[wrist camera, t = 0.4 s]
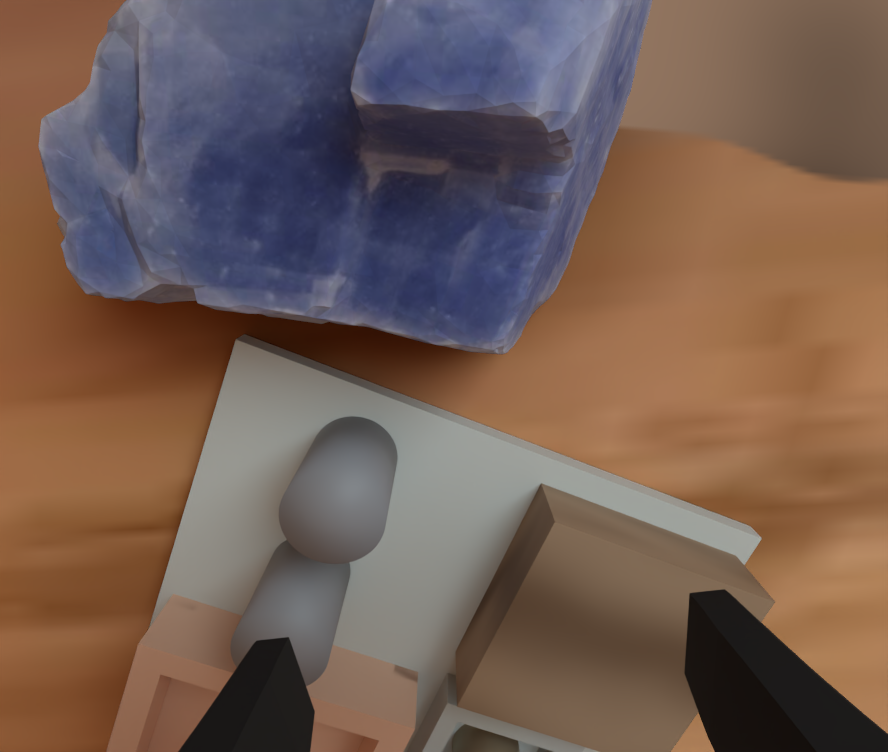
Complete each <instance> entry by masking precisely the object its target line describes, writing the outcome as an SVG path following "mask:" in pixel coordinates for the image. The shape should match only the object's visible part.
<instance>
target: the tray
mask: <svg viewBox="0 0 888 752" xmlns="http://www.w3.org/2000/svg"><path fill="white" fill-rule="evenodd" d="M241 618H242V615H239V614H235V613H232V612H229V611H226V610H223V609H220V608H217V607H214V606H210V605H207V604H204V603H201V602H198V601H195V600H192V599H189V598H185V597H182V596H179V595H176V594H173V595H172V596H171V598H170V599H169V601H168V602H167V604H166V605H165V606H164V608H163V609H162V611H161V612H160V613H159V615H158V616H157V618H156V619H155V621H154V622H153V623H152V625H151V626H150V628H149V629H148V631H147V632H146V633H145V635H144V636H143V638H142V639H141V641H140V642H139V643H138V646H137V650H136V653H135V656H134V660H133V663H132V666H131V670H130V673H129V676H128V680H127V683H126V687H125V690H124V693H123V697H122V700H121V703H120V707H119V710H118V714H117V717H116V720H115V724H114V727H113V730H112V734H111V737H110V740H109V744H108V747H107V751H106V752H178V751H179V750H180V748H181V747H182V745H183V744H184V743H185V741H186V740H187V739H188V737H189V736H190V734H191V733H192V732H193V730H194V729H195V727H196V726H197V725H198V723H199V722H200V720H201V719H202V718H203V716H204V715H205V713H206V712H207V710H208V709H209V707H210V706H211V705H212V703H213V702H214V700H215V699H216V697H217V696H218V695H219V693H220V692H221V690H222V689H223V687H224V686H225V684H226V683H227V681H228V680H229V678H230V677H231V676H232V674H233V673H234V671H235V670H236V668H237V667H236V665H235V664H234V662H233V659H232V656H231V650H230V645H231V640H232V636H233V634H234V632H235V630H236V628H237V626H238V624H239V622H240V620H241ZM417 684H418V672H416V671H413V670H410V669H407V668H404V667H401V666H398V665H395V664H392V663H388V662H385V661H382V660H379V659H376V658H373V657H370V656H367V655H363V654H360V653H357V652H354V651H351V650H348V649H345V648H342V647H338V646H335V645H333V646H332V649H331V653H330V657H329V661H328V664H327V667H326V669H325V671H324V673H323V674H322V675H321V676H320V677H319V678H318V679H317V680H316V681H315V682H313V683H312V684H310V685H308V686H306V687H307V690H308V693H309V696H310V699H311V702H312V705H313V708H314V710H315V715H314V724H313V732H312V741H311V749H310V752H404V750H405V748H406V746H407V744H408V742H409V740H410V738H411V736H412V734H413V732H414V730H415V721H416V703H417Z"/></svg>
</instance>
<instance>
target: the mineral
mask: <svg viewBox="0 0 888 752" xmlns="http://www.w3.org/2000/svg"><path fill="white" fill-rule="evenodd" d="M651 4H652V0H126V1H125V2H124V3H123V4H122V5H121V7H120V8H119V10H118V11H117V13H116V14H115V15H114V16H113V17H112V18H111V19H110V20H109V21H108V29H107V34H106V35H105V36H104V38H103V39H102V41H101V42H100V43H99V45H98V48H97V51H96V55H95V59H94V63H93V69H92V75H91V81H90V84H89V85H88V87H87V88H86V90H85V91H84V92H83V93H82V94H80V95H79V96H78V97H77V98H76V99H75V100H73V101H72V102H70V103H68V104H66V105H65V106H63V107H61V108H59V109H57V110H55V111H54V112H52V113H50V114H48V115H46V116H45V117H44V118H43V119H41V129H40V138H39V151H40V155H41V160H42V164H43V168H44V171H45V175H46V179H47V183H48V186H49V190H50V194H51V198H52V201H53V205H54V209H55V210H56V212H57V213H58V214H59V215H60V218H59V220H58V223H57V224H58V226H59V228H60V230H61V232H62V234H63V235H64V237H65V238H64V240H63V242H62V243H61V247H62V250H63V253H64V257H65V261H66V266H67V268H68V269H69V271H70V273H71V274H72V276H73V277H74V279H75V280H76V282H77V283H78V285H79V286H80V287H81V288H82V290H83V291H84V292H85V293H86V294H89V295H94V296H104V297H105V298H117V299H121V300H124V301H134V300H142V301H148V302H153V303H158V304H160V303H168V302H178V301H197V303H198V304H201V305H204V306H207V307H210V308H212V309H215V310H223V311H231V312H239V313H247V314H263V315H265V316H267V317H278V318H285V319H291V320H298V321H305V322H312V323H319V324H323V323H326V322H332V323H336V324H343V325H356V326H364V327H370V328H373V329H377V330H380V331H384V332H387V333H391V334H395V335H398V336H402V337H406V338H410V339H413V340H417V341H421V342H424V343H429V344H434V345H440V346H446V347H451V348H455V349H460V350H464V351H469V352H479V353H491V354H505V353H507V352H508V351H509V349H511V348H512V347H513V346H514V344H515V343H516V341H517V340H518V339H519V337H520V336H521V334H522V331H523V328H524V327H525V325H526V323H527V322H528V320H529V318H530V316H531V315H532V314H533V313H534V312H535V311H536V310H537V308H539V307H540V306H541V305H542V304H543V303H544V302H545V301H547V300H548V298H549V297H550V296H551V295H552V293H553V292H554V291H555V290H556V288H557V286H558V284H559V281H560V279H561V277H562V275H563V273H564V271H565V269H566V267H567V265H568V263H569V260H570V257H571V253H572V250H573V247H574V243H575V240H576V238H577V235H578V233H579V231H580V229H581V227H582V224H583V221H584V218H585V215H586V212H587V209H588V207H589V204H590V202H591V200H592V198H593V197H594V195H595V192H596V188H597V185H598V182H599V180H600V177H601V175H602V173H603V170H604V167H605V163H606V160H607V157H608V153H609V150H610V147H611V144H612V142H613V140H614V137H615V135H616V133H617V130H618V128H619V124H620V121H621V118H622V115H623V111H624V108H625V105H626V102H627V98H628V96H629V94H630V91H631V87H632V82H633V78H634V73H635V68H636V63H637V59H638V55H639V52H640V48H641V43H642V38H643V32H644V29H645V26H646V24H647V20H648V16H649V12H650V8H651Z"/></svg>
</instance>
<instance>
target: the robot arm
mask: <svg viewBox="0 0 888 752" xmlns="http://www.w3.org/2000/svg"><path fill="white" fill-rule="evenodd" d="M684 674H685V676H686V679H687V682H688V685H689V687H690V690H691V693H692V696H693V698H694V701H695V704H696V707H697V709H698V712H699V715H700V717H701V720H702V722H703V725H704V728H705V730H706V733H707V735H708V738H709V740H710V742H711V744H712V746H713V748H714V750H715V752H888V734H887V733H886V732H885V731H884V730H882V729H881V728H880V727H879V726H878V725H876V724H875V723H874V722H873V721H872V720H870V719H869V718H868V717H867V716H866V715H864V714H863V713H862V712H861V711H860V710H859V709H857V708H856V707H855V706H854V705H853V704H852V703H850V702H849V701H848V700H847V699H846V698H845V697H844V696H842V695H841V694H840V693H839V692H838V691H837V690H835V689H834V688H833V687H832V686H831V685H830V684H829V683H827V682H826V681H825V680H824V679H823V678H822V677H820V676H819V675H818V674H817V673H816V672H815V671H814V670H813V669H811V668H810V667H809V666H808V665H807V664H806V663H805V662H804V661H803V660H801V659H800V658H799V657H798V656H797V655H796V654H795V653H794V652H793V651H792V650H790V649H789V648H788V647H787V646H786V645H785V644H784V643H783V642H782V641H781V640H780V639H778V638H777V637H776V636H775V635H774V634H773V633H772V632H771V631H770V630H769V629H768V628H767V627H765V626H764V625H763V624H762V623H761V622H760V621H759V620H758V619H757V618H756V617H755V616H754V615H753V614H752V613H751V612H749V611H748V610H747V609H746V608H745V607H744V606H743V605H742V604H741V603H740V602H739V601H738V600H737V599H736V598H735V597H733V596H732V595H731V594H730V593H729V592H728V591H726V590H725V589H722V590H713V591H703V592H694V593H690V594H689V609H688V625H687V640H686V656H685V671H684ZM314 715H315V710H314V708H313V705H312V702H311V699H310V696H309V693H308V690H307V687H306V685H305V682H304V679H303V676H302V673H301V670H300V667H299V664H298V662H297V659H296V656H295V653H294V650H293V647H292V644H291V641H290V639H289V637H284V638H275V639H266V640H257V641H256V642H255V643H254V644H253V645H252V646H251V648H250V649H249V651H248V652H247V654H246V655H245V656H244V658H243V659H242V661H241V662H240V664H239V665H238V667H237V668H236V670H235V671H234V673H233V674H232V676H231V677H230V678H229V680H228V681H227V683H226V684H225V686H224V687H223V689H222V690H221V692H220V693H219V695H218V696H217V697H216V699H215V700H214V702H213V703H212V705H211V706H210V707H209V709H208V710H207V712H206V713H205V715H204V716H203V718H202V719H201V720H200V722H199V723H198V725H197V726H196V727H195V729H194V730H193V732H192V733H191V734H190V736H189V737H188V739H187V740H186V741H185V743H184V744H183V745H182V747H181V748H180V750H179V751H178V752H310V749H311V741H312V732H313V724H314Z"/></svg>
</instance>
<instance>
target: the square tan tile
mask: <svg viewBox="0 0 888 752" xmlns="http://www.w3.org/2000/svg"><path fill="white" fill-rule="evenodd" d="M722 589H725V590H726V591H728V592H729V593H730V594H731V595H732V596H733V597H735V598H736V599H737V600H738V601H739V602H740V603H741V604H742V605H743V606H744V607H745V608H746V609H747V610H748V611H749V612H751V613H752V614H753V615H754V616H755V617H756V618H757V619H758V620H759V621H760V622H762V620H763V619H764V617H765V616H766V614H767V613H768V612H769V610H770V609H771V607H772V606H773V604H774V603H775V601H774V600H773V599H772V598H771V596H770V595H769V594H768V593H767V592H766V590H765V589H764V588H763V587H762V586H761V585H760V583H759V582H758V581H757V580H756V579H755V577H754V576H753V575H752V574H751V573H750V572H749V570H748V569H747V568H746V567H745V566H744V564H743V563H742V562H741V561H740V560H739V559H738V557H737V556H736V555H733V554H730V553H728V552H725V551H722V550H719V549H717V548H714V547H711V546H709V545H706V544H703V543H701V542H698V541H695V540H693V539H690V538H687V537H684V536H682V535H679V534H676V533H674V532H671V531H668V530H666V529H663V528H660V527H658V526H655V525H652V524H650V523H647V522H644V521H641V520H639V519H636V518H633V517H631V516H628V515H625V514H623V513H620V512H617V511H615V510H612V509H609V508H606V507H604V506H601V505H598V504H596V503H593V502H590V501H588V500H585V499H582V498H580V497H577V496H574V495H572V494H569V493H566V492H563V491H561V490H558V489H555V488H553V487H550V486H547V485H545V484H542V483H541V485H540V487H539V489H538V490H537V492H536V494H535V496H534V498H533V500H532V502H531V504H530V506H529V508H528V510H527V512H526V514H525V516H524V518H523V520H522V522H521V524H520V526H519V528H518V530H517V532H516V534H515V536H514V538H513V540H512V542H511V543H510V545H509V547H508V549H507V551H506V553H505V555H504V557H503V559H502V561H501V563H500V565H499V567H498V569H497V571H496V573H495V575H494V577H493V579H492V581H491V583H490V585H489V587H488V589H487V591H486V593H485V595H484V597H483V598H482V600H481V602H480V604H479V606H478V608H477V610H476V612H475V614H474V616H473V618H472V620H471V622H470V624H469V626H468V628H467V630H466V632H465V634H464V636H463V638H462V640H461V642H460V644H459V646H458V648H457V650H456V652H455V653H456V689H457V707H459V708H462V709H466V710H469V711H472V712H475V713H478V714H481V715H485V716H488V717H491V718H494V719H497V720H500V721H504V722H507V723H510V724H513V725H516V726H519V727H523V728H526V729H529V730H532V731H535V732H538V733H542V734H545V735H548V736H551V737H554V738H558V739H561V740H564V741H567V742H570V743H573V744H577V745H580V746H583V747H586V748H589V749H592V750H596V751H599V752H671V750H672V749H673V748H674V746H675V745H676V743H677V742H678V740H679V739H680V738H681V736H682V735H683V733H684V732H685V730H686V729H687V728H688V726H689V725H690V723H691V722H692V720H693V719H694V718H695V716H696V715H697V713H698V709H697V707H696V704H695V701H694V698H693V696H692V693H691V690H690V687H689V685H688V682H687V679H686V676H685V674H684V671H685V656H686V640H687V625H688V609H689V594H690V593H694V592H703V591H713V590H722Z"/></svg>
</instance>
